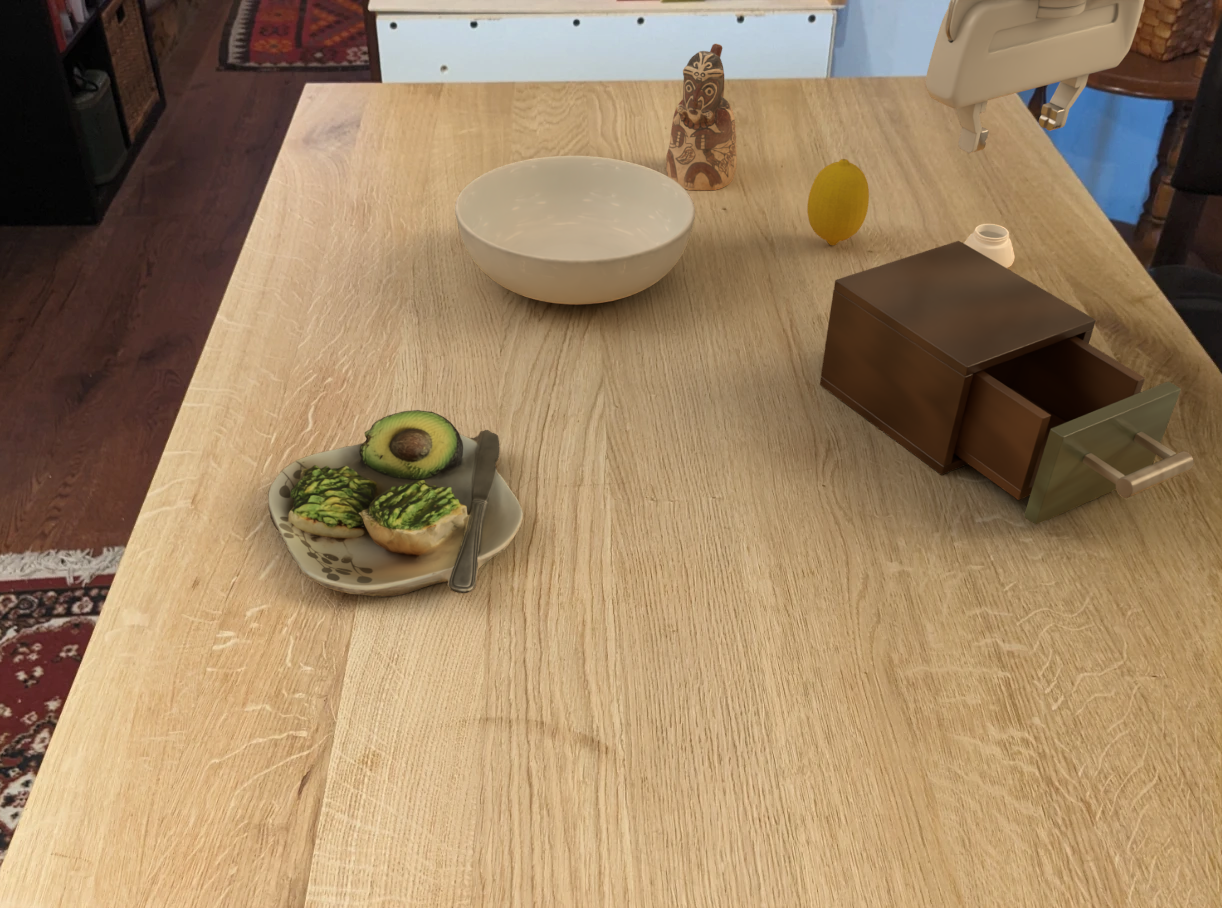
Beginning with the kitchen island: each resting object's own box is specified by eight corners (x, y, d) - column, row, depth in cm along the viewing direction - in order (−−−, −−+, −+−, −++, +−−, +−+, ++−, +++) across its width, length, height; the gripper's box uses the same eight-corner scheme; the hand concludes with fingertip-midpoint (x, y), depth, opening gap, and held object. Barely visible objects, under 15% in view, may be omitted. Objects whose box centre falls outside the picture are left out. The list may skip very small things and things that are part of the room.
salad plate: (580, 579, 87) (580, 525, 83) (323, 651, 82) (312, 596, 78) (483, 431, 99) (479, 378, 95) (255, 485, 94) (242, 432, 91)
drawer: (1197, 507, 91) (1235, 419, 86) (1083, 560, 87) (1115, 471, 82) (1017, 390, 101) (1040, 305, 96) (907, 432, 97) (925, 345, 92)
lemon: (845, 227, 123) (858, 143, 117) (871, 253, 119) (886, 168, 114) (793, 236, 122) (803, 151, 116) (817, 262, 118) (829, 176, 112)
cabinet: (1063, 426, 100) (1096, 319, 93) (941, 475, 95) (967, 366, 88) (936, 343, 108) (958, 240, 102) (819, 384, 104) (834, 279, 97)
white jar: (1023, 262, 118) (978, 244, 121) (1031, 232, 116) (985, 213, 119) (991, 280, 116) (946, 260, 118) (998, 249, 114) (952, 230, 116)
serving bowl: (652, 353, 107) (655, 276, 102) (423, 312, 111) (416, 236, 106) (717, 244, 120) (722, 171, 115) (510, 212, 125) (507, 140, 120)
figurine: (652, 179, 130) (656, 53, 122) (689, 155, 134) (695, 32, 126) (712, 196, 128) (721, 69, 119) (747, 172, 132) (758, 47, 123)
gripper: (985, -8, 94) (945, 177, 105) (1174, -50, 102) (1120, 127, 112) (927, -32, 98) (895, 149, 108) (1114, -71, 106) (1067, 103, 116)
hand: (1011, 138), depth 110 cm, fingers open, 8 cm apart
